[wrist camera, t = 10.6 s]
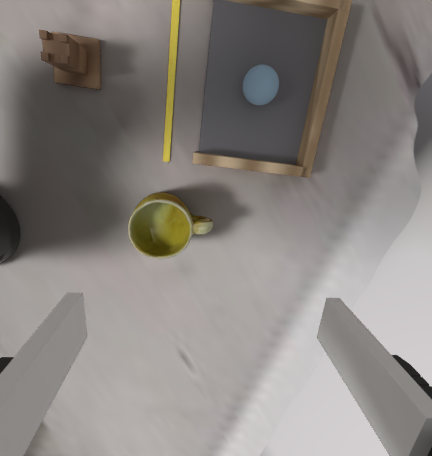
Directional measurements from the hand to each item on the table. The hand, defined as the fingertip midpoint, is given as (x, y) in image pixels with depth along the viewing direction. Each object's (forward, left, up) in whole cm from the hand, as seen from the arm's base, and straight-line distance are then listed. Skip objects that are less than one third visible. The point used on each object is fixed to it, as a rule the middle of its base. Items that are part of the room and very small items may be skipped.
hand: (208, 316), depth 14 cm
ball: (+6, +17, -28) cm, 34 cm away
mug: (-4, -4, -32) cm, 32 cm away
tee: (-19, +17, -31) cm, 40 cm away
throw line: (-6, +17, -31) cm, 36 cm away
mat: (+7, +17, -31) cm, 36 cm away
